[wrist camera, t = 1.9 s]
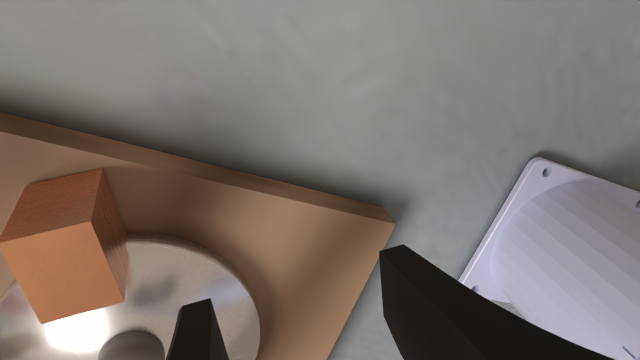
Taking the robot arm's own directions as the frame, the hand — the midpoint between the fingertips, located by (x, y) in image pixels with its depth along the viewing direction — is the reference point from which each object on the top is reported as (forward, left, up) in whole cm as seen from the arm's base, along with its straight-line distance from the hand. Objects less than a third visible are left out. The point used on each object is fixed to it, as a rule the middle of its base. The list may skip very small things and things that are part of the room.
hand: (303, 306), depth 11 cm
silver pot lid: (+3, +8, -8) cm, 11 cm away
